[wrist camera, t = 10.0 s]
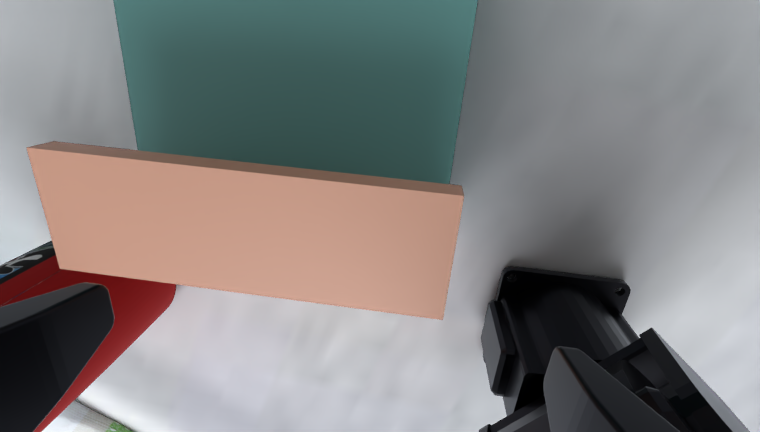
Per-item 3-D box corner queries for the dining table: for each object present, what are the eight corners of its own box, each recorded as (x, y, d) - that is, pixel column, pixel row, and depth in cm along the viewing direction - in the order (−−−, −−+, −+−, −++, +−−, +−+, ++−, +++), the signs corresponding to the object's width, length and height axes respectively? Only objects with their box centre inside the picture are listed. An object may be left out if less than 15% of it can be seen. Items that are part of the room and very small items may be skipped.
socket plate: (501, -204, 14) (581, -485, 7) (437, 225, 21) (442, 320, 13) (133, -217, 15) (-145, -475, 8) (184, 196, 22) (59, 268, 14)
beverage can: (83, 196, 22) (-249, 332, 11) (194, 242, 23) (-24, 417, 12) (73, 286, 25) (-203, 468, 14) (173, 326, 25) (-21, 534, 14)
